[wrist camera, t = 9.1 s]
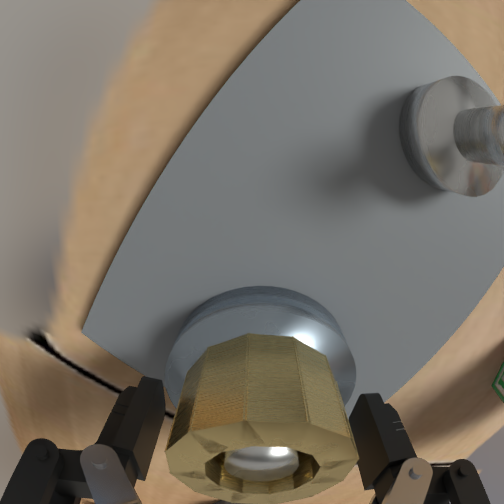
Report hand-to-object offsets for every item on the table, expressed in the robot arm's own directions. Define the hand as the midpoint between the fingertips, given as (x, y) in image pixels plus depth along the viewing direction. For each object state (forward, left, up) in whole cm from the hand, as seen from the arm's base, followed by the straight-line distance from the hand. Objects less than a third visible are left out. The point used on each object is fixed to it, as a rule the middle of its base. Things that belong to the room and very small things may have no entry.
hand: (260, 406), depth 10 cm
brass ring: (0, 0, -1) cm, 1 cm away
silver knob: (-13, 0, -3) cm, 13 cm away
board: (-6, 0, -4) cm, 8 cm away
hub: (0, 0, -3) cm, 3 cm away
